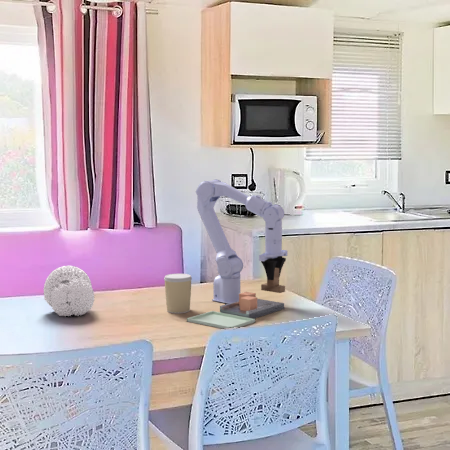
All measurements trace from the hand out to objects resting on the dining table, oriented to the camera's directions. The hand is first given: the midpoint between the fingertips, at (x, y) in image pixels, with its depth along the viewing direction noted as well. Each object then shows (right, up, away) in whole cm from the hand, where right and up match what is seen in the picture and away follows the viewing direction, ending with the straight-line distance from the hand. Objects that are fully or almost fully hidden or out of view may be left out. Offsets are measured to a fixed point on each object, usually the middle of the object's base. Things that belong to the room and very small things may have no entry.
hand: (273, 278), depth 260 cm
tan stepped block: (0, -4, +1) cm, 4 cm away
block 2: (-9, -9, -14) cm, 19 cm away
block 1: (-9, -8, -7) cm, 14 cm away
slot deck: (-8, -11, -8) cm, 15 cm away
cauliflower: (-68, -11, -8) cm, 69 cm away
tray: (-18, -12, -21) cm, 30 cm away
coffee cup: (-33, -11, -6) cm, 35 cm away
